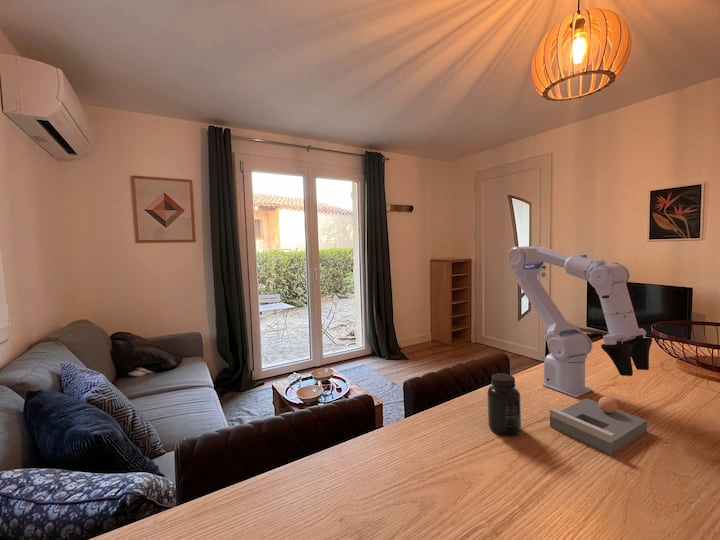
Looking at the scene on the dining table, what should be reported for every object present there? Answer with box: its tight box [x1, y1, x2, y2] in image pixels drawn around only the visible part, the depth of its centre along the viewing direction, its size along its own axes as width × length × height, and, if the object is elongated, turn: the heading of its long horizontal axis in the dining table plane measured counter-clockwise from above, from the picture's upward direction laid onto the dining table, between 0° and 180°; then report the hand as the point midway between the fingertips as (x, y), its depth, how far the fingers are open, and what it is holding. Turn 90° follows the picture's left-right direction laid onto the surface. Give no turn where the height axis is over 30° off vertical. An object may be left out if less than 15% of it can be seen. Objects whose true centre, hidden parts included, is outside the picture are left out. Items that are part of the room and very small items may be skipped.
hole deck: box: [549, 398, 648, 456], centre depth 72 cm, size 12×15×4 cm
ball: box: [598, 396, 619, 413], centre depth 74 cm, size 4×4×4 cm
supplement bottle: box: [487, 372, 522, 437], centre depth 74 cm, size 7×7×12 cm
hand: (635, 372), depth 75 cm, fingers open, 7 cm apart
